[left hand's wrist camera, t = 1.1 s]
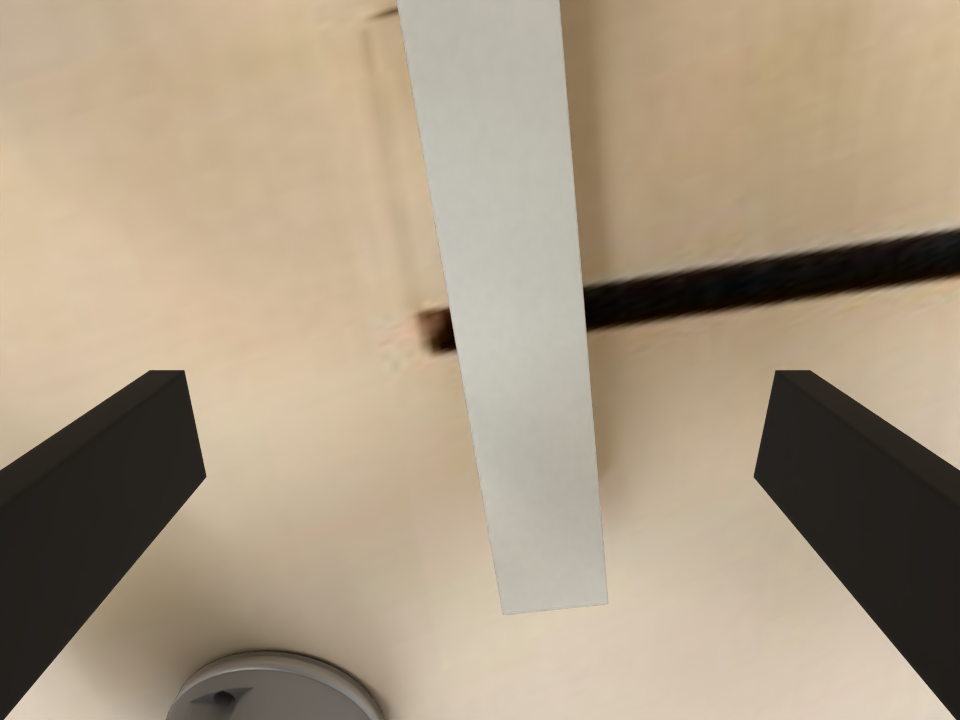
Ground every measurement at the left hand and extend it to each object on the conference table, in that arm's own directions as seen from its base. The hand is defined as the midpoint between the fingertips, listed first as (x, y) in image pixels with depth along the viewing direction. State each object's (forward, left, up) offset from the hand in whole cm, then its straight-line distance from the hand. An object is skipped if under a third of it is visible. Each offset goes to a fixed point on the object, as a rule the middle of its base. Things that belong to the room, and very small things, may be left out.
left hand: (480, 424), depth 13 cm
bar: (+14, +9, -17) cm, 23 cm away
